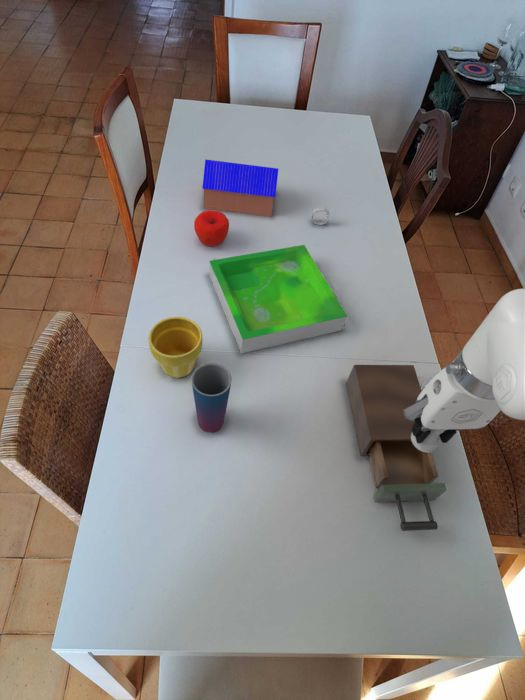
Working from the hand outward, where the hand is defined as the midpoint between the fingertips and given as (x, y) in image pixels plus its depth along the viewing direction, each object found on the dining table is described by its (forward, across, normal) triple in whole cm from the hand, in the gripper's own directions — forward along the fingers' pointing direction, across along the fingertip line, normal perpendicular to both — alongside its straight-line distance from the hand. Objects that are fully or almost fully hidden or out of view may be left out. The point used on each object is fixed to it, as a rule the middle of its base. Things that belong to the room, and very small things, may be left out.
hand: (429, 434), depth 73 cm
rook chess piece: (+3, 0, 0) cm, 3 cm away
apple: (+16, -35, +64) cm, 75 cm away
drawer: (+15, 0, -1) cm, 15 cm away
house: (+16, -27, +83) cm, 89 cm away
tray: (+16, -20, +43) cm, 51 cm away
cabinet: (+16, 0, +12) cm, 20 cm away
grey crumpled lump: (+16, -5, +74) cm, 76 cm away
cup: (+16, -35, +11) cm, 40 cm away
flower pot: (+16, -42, +25) cm, 51 cm away
